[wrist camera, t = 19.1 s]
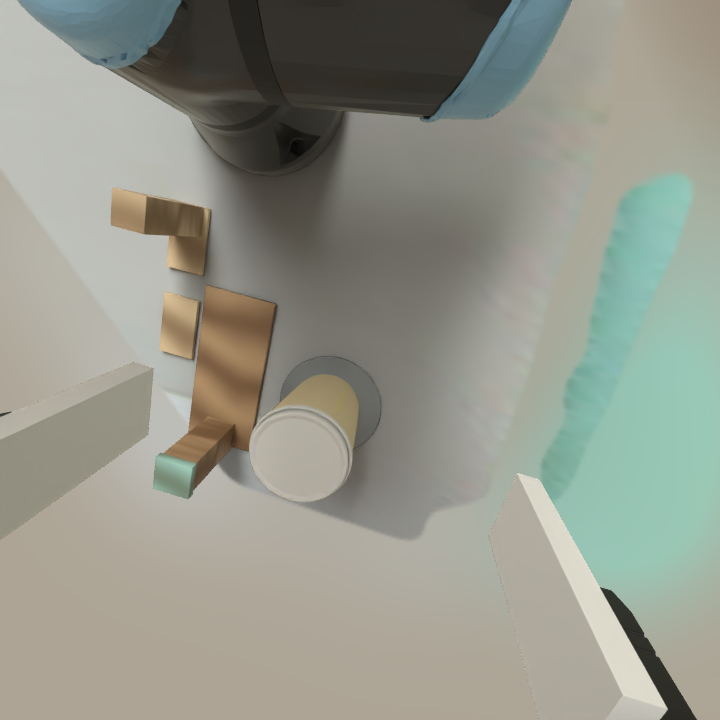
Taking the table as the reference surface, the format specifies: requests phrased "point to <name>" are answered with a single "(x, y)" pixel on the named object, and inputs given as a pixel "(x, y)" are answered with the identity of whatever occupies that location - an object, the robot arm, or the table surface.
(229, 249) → the table surface
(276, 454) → the coffee cup
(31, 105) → the table surface
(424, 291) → the table surface
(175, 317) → the broken strip
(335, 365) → the coaster
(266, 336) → the wooden l bracket
